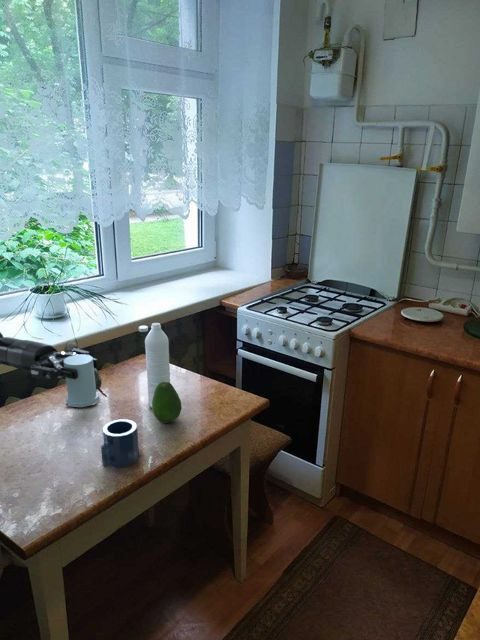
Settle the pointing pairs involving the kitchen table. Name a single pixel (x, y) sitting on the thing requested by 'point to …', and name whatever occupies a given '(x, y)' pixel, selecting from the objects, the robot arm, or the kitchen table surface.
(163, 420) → the avocado
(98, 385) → the plant with pod
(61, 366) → the robot arm
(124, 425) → the navy pipe fitting
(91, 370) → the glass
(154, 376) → the water bottle
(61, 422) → the kitchen table surface
